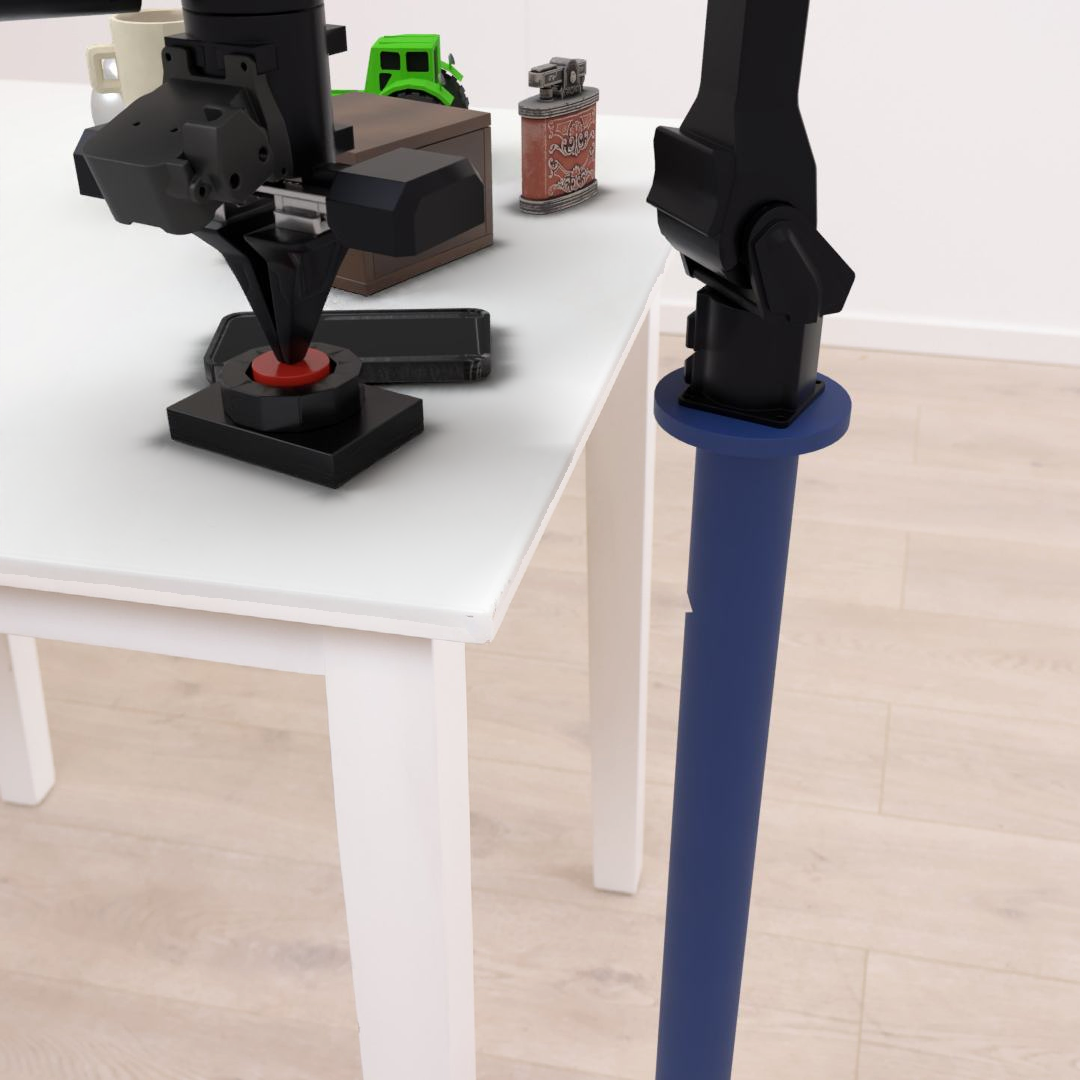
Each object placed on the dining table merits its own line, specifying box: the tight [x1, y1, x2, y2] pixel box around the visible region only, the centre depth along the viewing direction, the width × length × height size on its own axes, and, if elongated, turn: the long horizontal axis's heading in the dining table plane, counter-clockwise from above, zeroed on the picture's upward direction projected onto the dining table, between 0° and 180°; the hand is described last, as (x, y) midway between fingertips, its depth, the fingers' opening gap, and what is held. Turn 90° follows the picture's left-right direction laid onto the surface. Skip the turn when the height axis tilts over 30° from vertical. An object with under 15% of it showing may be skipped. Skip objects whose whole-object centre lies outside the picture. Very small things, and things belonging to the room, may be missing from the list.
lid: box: [332, 91, 492, 166], centre depth 83 cm, size 12×13×1 cm
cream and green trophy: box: [85, 7, 185, 107], centre depth 94 cm, size 11×7×13 cm, turn 105°
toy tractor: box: [331, 33, 470, 109], centre depth 103 cm, size 11×16×10 cm
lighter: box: [517, 56, 600, 215], centre depth 95 cm, size 8×3×10 cm, turn 145°
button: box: [252, 348, 331, 386], centre depth 62 cm, size 4×4×2 cm
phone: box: [203, 307, 492, 385], centre depth 71 cm, size 8×1×15 cm
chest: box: [287, 125, 494, 297], centre depth 85 cm, size 12×13×8 cm
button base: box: [165, 342, 425, 489], centre depth 62 cm, size 10×7×4 cm
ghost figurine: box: [90, 58, 126, 126], centre depth 104 cm, size 9×10×10 cm
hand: (291, 361), depth 61 cm, fingers closed, pressing on button
